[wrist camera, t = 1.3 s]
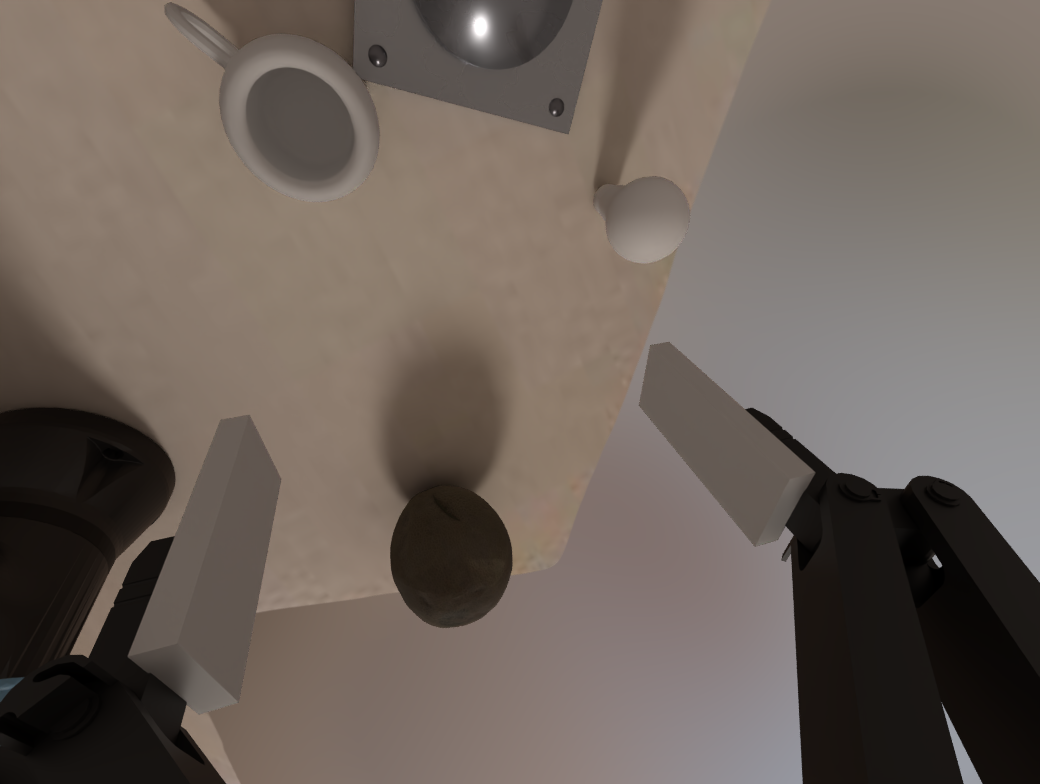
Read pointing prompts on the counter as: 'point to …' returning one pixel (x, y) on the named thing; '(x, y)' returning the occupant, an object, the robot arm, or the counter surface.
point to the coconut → (450, 556)
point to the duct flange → (480, 53)
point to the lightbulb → (643, 217)
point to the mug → (291, 110)
